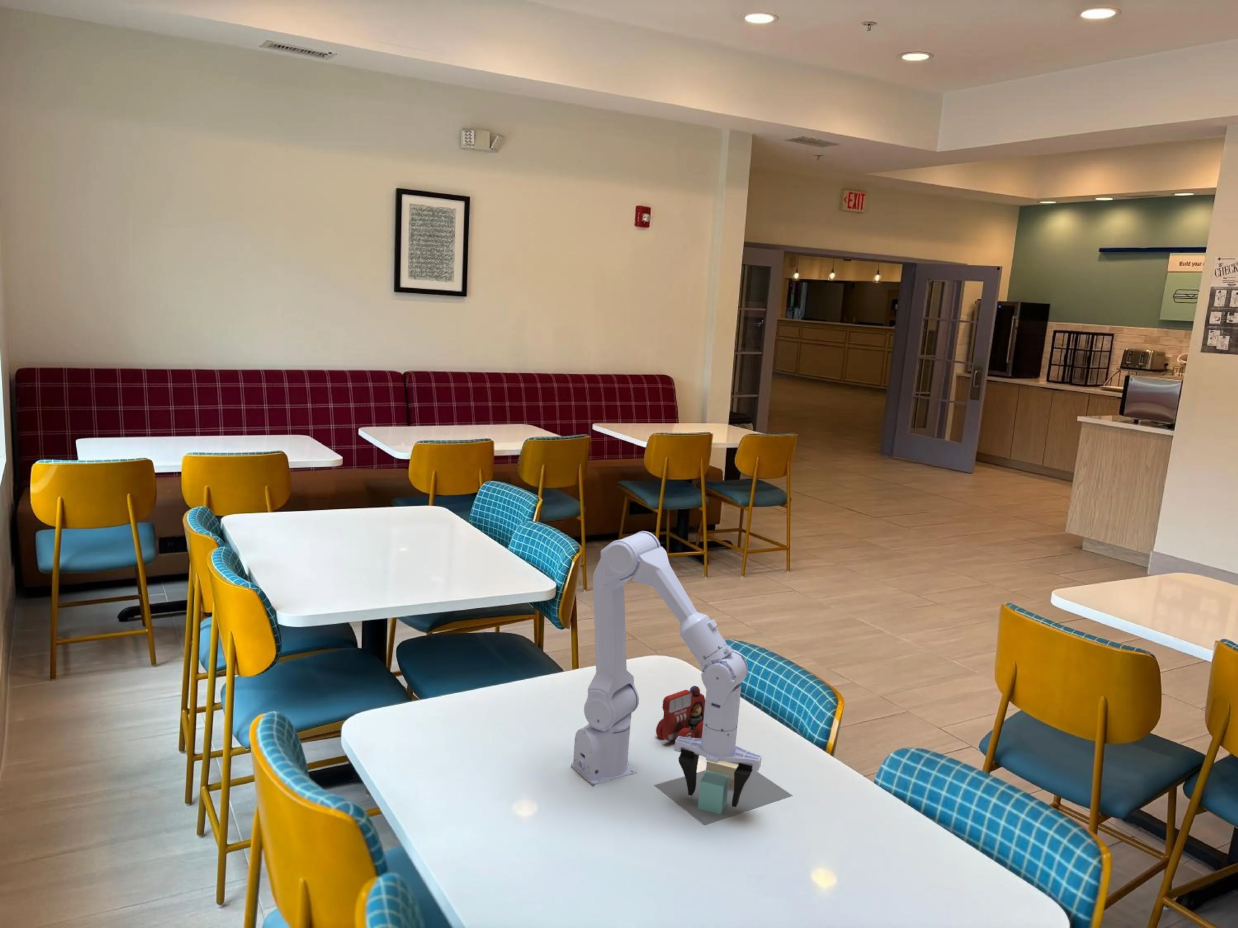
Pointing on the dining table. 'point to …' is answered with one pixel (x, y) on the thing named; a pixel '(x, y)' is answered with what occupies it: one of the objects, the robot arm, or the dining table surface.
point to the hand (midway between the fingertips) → (713, 798)
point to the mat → (751, 797)
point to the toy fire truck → (682, 715)
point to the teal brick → (713, 792)
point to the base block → (723, 770)
